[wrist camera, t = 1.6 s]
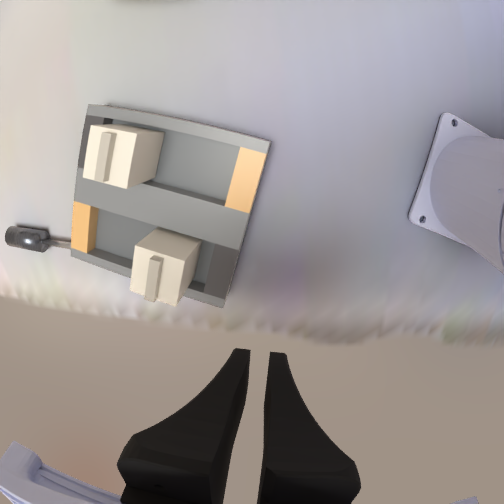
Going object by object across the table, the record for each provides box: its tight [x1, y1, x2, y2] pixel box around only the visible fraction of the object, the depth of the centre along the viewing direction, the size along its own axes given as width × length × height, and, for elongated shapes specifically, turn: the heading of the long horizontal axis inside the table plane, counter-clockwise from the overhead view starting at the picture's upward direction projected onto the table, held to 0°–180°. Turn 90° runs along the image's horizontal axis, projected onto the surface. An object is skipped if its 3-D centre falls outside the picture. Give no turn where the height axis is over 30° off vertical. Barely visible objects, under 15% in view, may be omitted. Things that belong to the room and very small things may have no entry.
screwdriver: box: [5, 226, 99, 252], centre depth 23 cm, size 10×2×2 cm, turn 85°
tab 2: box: [130, 226, 202, 307], centre depth 19 cm, size 3×3×5 cm
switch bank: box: [71, 104, 272, 308], centre depth 20 cm, size 12×11×2 cm
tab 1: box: [83, 124, 165, 189], centre depth 17 cm, size 3×3×5 cm
